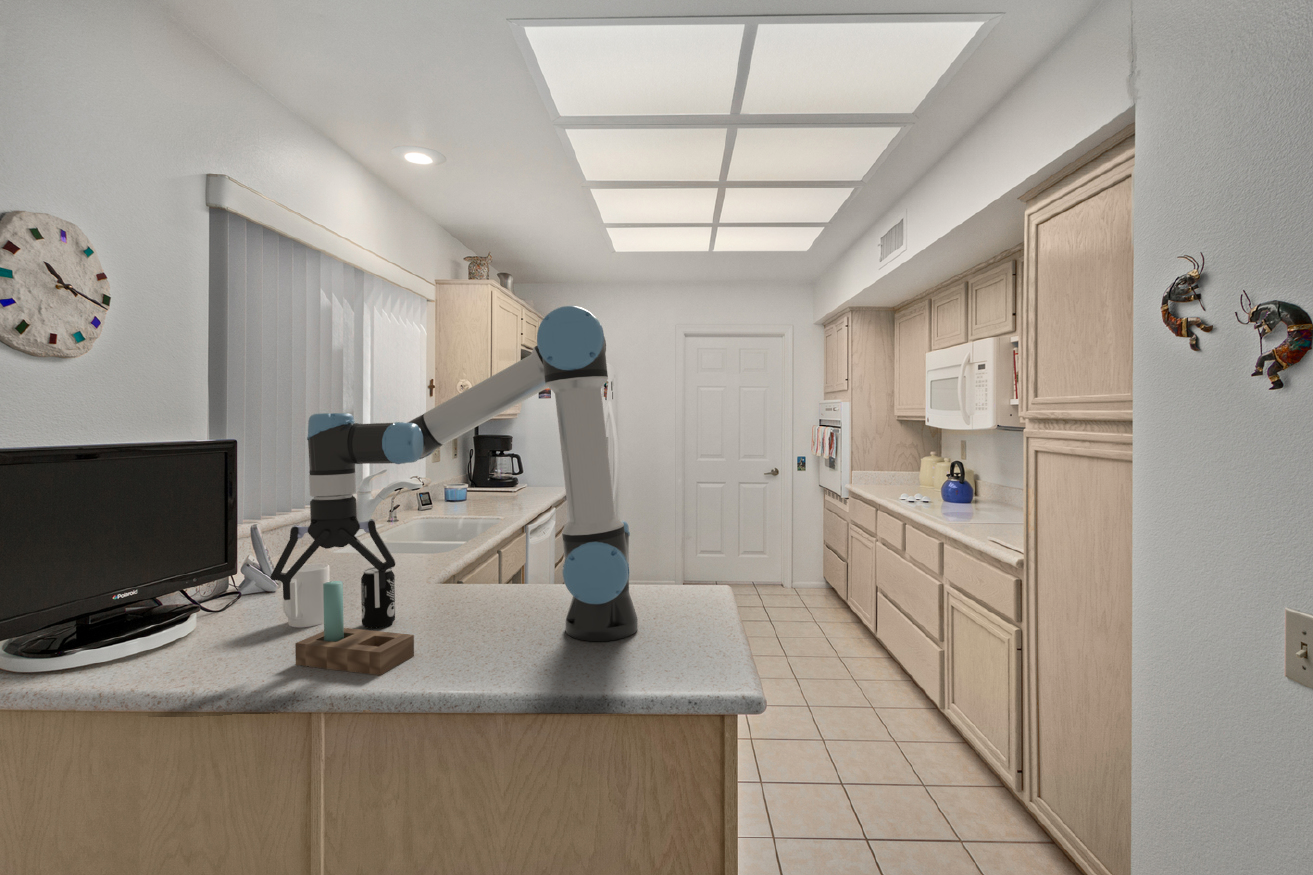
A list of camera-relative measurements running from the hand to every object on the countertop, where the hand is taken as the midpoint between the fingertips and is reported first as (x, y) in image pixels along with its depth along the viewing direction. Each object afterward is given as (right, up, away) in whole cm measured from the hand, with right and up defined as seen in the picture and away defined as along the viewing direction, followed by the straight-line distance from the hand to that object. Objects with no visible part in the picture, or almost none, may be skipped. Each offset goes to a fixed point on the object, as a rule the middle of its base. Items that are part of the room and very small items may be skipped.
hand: (337, 611), depth 112 cm
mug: (-18, -9, +19) cm, 27 cm away
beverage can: (-1, -9, +19) cm, 21 cm away
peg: (-1, -9, 0) cm, 9 cm away
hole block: (+4, -9, -1) cm, 10 cm away
